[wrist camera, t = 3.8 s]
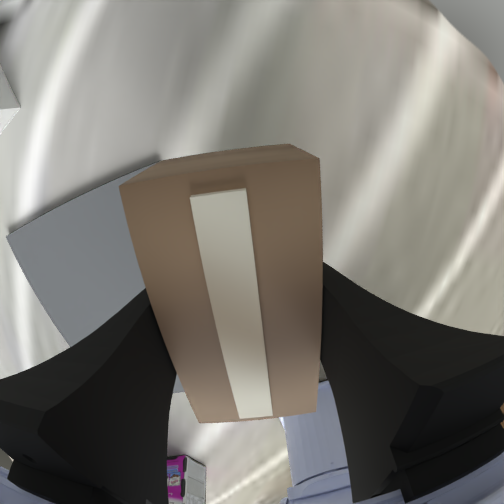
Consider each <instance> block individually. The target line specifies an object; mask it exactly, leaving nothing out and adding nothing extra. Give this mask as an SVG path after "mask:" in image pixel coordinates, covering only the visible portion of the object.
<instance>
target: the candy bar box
mask: <svg viewBox="0 0 504 504" xmlns="http://www.w3.org/2000/svg"><path fill="white" fill-rule="evenodd" d="M167 486H168V500H169V504H206V467H205V466H204V465H203V464H201V463H199V462H197V461H195V460H193V459H192V458H190V457H188V456H186V455H181V456H175V457H168V458H167Z"/></svg>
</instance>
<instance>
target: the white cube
mask: <svg viewBox="0 0 504 504" xmlns="http://www.w3.org/2000/svg"><path fill="white" fill-rule="evenodd" d="M20 108H21V107H20V105H19V103H18V101H17V99H16V97H15V95H14V93H13V91H12V89H11V87H10V85H9V82H8V80H7V78H6V76H5V74H4V72H3V69H2V67H1V65H0V135H1V133H2V132H3V130H4V129H5V128H6V126H7V125H8V124H9V122H10V121H11V120H12V118H13V117H14V116H15V114H16V113H17V112H18V111H19V109H20Z"/></svg>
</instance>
